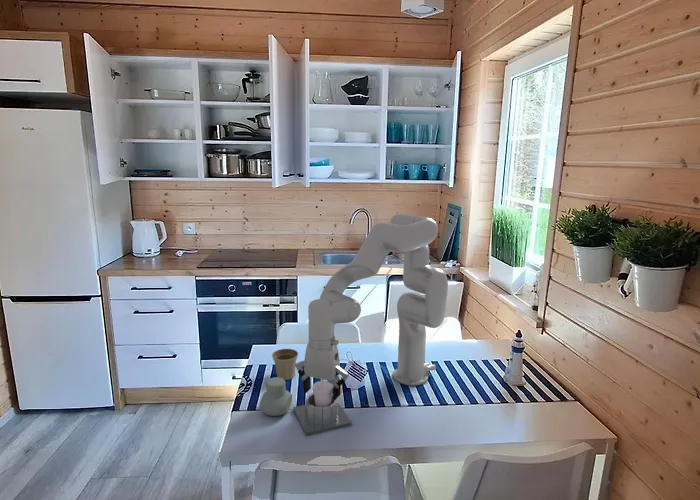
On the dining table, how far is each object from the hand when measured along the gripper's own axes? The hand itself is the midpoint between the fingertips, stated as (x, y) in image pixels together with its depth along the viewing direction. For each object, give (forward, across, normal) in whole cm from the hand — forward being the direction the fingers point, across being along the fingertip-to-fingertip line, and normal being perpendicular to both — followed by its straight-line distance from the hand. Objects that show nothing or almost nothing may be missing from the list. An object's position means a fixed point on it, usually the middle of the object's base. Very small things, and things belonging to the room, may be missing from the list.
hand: (321, 394), depth 132 cm
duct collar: (+8, 0, 0) cm, 8 cm away
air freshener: (+8, +15, +2) cm, 17 cm away
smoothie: (+7, 0, 0) cm, 7 cm away
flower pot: (+8, +23, -18) cm, 30 cm away
